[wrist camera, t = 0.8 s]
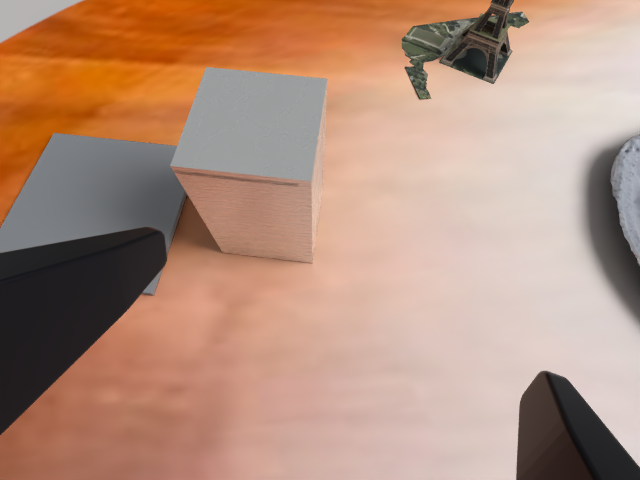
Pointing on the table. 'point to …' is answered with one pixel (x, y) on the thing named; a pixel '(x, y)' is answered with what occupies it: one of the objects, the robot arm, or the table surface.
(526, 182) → the table surface
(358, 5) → the table surface
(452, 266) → the table surface
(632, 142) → the food plate
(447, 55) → the eiffel tower figurine
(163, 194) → the rubber mat
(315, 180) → the silver grey block
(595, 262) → the table surface
